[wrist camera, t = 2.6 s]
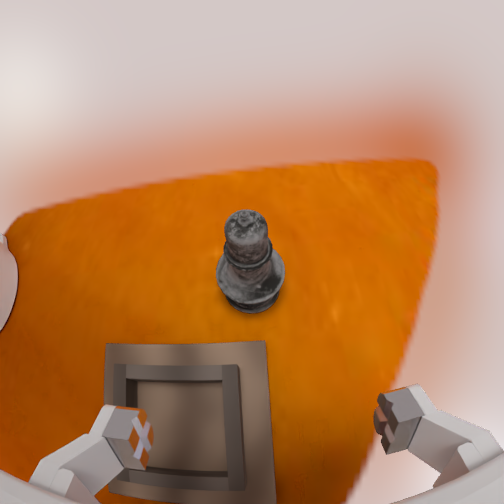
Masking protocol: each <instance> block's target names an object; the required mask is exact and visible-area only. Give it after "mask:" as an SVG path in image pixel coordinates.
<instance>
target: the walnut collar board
mask: <svg viewBox="0 0 504 504" xmlns="http://www.w3.org/2000/svg"><path fill="white" fill-rule="evenodd" d="M106 404H107V405H113V406H122V407H130V408H138V409H144V410H145V412H146V414H147V419H146V421H147V422H148V423H150V424H151V426H152V429H153V433H154V440H153V445H152V448H151V449H149V450H148V451H147V453H148V455H149V459H148V463H147V466H146V470H138V469H131V468H124V467H123V468H124V469H123V470H122V471H121V472H120V473H119V474H118V475H117V476H115V477H114V478H113V479H112V480H111V481H110V482H109V483H108V487H109V492H111V493H115V494H120V495H125V496H130V497H136V498H141V499H148V500H154V501H162V502H170V503H180V504H277V502H276V487H275V472H274V457H273V443H272V428H271V414H270V400H269V386H268V373H267V359H266V346H265V340H264V341H249V342H232V343H208V344H113V343H106V352H105V373H104V405H106Z"/></svg>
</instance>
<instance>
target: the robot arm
mask: <svg viewBox="0 0 504 504" xmlns="http://www.w3.org/2000/svg"><path fill="white" fill-rule="evenodd" d="M17 283H18V270H17V264H16V261H15V258H14V256H13V255H12V253H11V252H10V251H9V249H8V247H7V239H6V237H5V236H4V235H3V234H1V233H0V331H1V329H2V328H3V326H4V324H5V323H6V321H7V319H8V317H9V314H10V312H11V309H12V306H13V303H14V300H15V296H16V291H17ZM377 402H378V404H379V406H378V407H377V408H376V409H375V411H374V426H375V429H376V432H377V433H378V434H380V435H382V439H381V443H382V446H383V448H384V450H385V453H386V454H391V453H395V452H399V451H402V450H405V449H408V451H409V452H411V453H412V454H414V455H415V456H417V457H418V458H419V459H421V460H422V461H424V462H425V463H427V464H428V465H430V466H431V467H432V468H434V469H435V470H437V471H438V472H440V473H441V474H440V476H439V477H438V479H437V480H436V482H435V483H434V485H433V489H431V490H428V491H426V492H423V493H420V494H418V495H415V496H413V497H409V498H406V499H403V500H401V501H397V502H394V503H391V504H504V451H503V449H502V448H501V447H500V445H499V444H498V442H497V441H496V440H495V438H494V437H493V435H492V434H491V433H490V431H489V430H486V429H484V428H481V427H479V426H476V425H474V424H472V423H469V422H467V421H465V420H462V419H460V418H458V417H456V416H453V415H451V414H449V413H446V412H444V411H442V410H440V411H437V409H436V408H435V406H434V405H433V403H432V402H431V400H430V399H429V397H428V396H427V395H426V393H425V392H424V391H423V389H422V387H421V386H420V385H419V384H415V385H411V386H407V387H403V388H399V389H395V390H391V391H387V392H382V393H380V394H379V396H378V399H377ZM146 419H147V414H146V412H145V410H144V409H138V408H130V407H122V406H113V405H107V404H106V405H104V406H103V407H102V409H101V411H100V413H99V415H98V416H97V418H96V420H95V422H94V424H93V426H92V428H91V430H90V432H89V434H84V435H82V436H80V437H79V438H77V439H75V440H74V441H72V442H70V443H69V444H67V445H65V446H64V447H62V448H60V449H59V450H57V451H55V452H53V453H52V454H50V455H48V456H46V457H45V458H43V459H41V460H40V462H39V464H38V466H37V467H36V469H35V471H34V473H33V475H32V477H31V479H30V480H29V482H28V483H27V482H25V481H23V480H21V479H19V478H17V477H15V476H13V475H11V474H9V473H7V472H5V471H3V470H1V469H0V504H101V503H100V502H99V501H98V500H97V499H96V498H95V497H94V495H95V494H96V493H97V492H99V491H100V490H101V489H102V488H103V487H104V486H105V485H106V484H108V483H109V482H110V481H111V480H112V479H113V478H114V477H115V476H117V475H118V474H119V473H120V472H121V471H122V470H123V469H124V468H131V469H138V470H146V466H147V463H148V459H149V455H148V453H147V451H148V450H149V449H151V448H152V445H153V440H154V433H153V429H152V426H151V424H150V423H148V422H147V421H146ZM123 467H124V468H123Z"/></svg>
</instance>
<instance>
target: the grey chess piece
mask: <svg viewBox="0 0 504 504" xmlns="http://www.w3.org/2000/svg"><path fill="white" fill-rule="evenodd" d="M224 228H225V237H226V242H225V245H224V254H223V255H222V256H221V258H220V260H219V261H218V265H217V268H216V278H217V282H218V285H219V287H220V288H221V290H222V292H223V293H224V294H225V295H226V298H227V300H228V301H229V303H230V304H231V305H232V306H233V307H234V308H235V309H237V310H239V311H241V312H245V313H259V312H262V311H265V310H266V309H268V308H269V307H271V306H272V305H273V303H274V302H275V301H276V299H277V297H278V295H279V290H280V288H281V286H282V284H283V282H284V276H285V268H284V263H283V261H282V258H281V257H280V255H279V254H278V253H277V252H276V251H275V250H274V249H273V248H272V243H271V241H270V239H269V238H268V228H267V223H266V221H265V219H264V217H263V216H262V215H261V214H259V213H258V212H256V211H253V210H240V211H237V212H235V213H233V214H232V215H231V216H229V218H228V219H227V221H226V223H225V227H224Z"/></svg>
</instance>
